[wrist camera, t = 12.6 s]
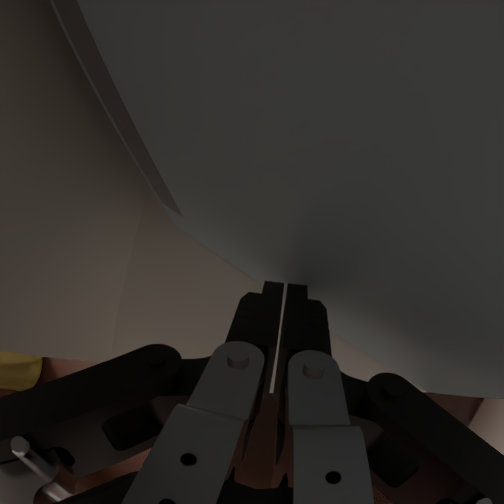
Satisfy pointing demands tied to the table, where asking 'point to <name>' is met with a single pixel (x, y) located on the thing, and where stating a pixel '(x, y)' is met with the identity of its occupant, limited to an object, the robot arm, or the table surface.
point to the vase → (19, 370)
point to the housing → (97, 224)
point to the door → (328, 157)
